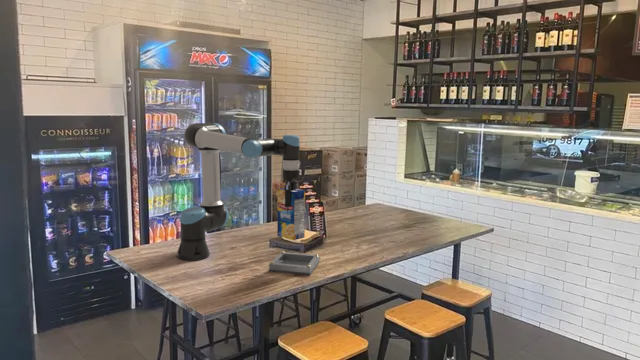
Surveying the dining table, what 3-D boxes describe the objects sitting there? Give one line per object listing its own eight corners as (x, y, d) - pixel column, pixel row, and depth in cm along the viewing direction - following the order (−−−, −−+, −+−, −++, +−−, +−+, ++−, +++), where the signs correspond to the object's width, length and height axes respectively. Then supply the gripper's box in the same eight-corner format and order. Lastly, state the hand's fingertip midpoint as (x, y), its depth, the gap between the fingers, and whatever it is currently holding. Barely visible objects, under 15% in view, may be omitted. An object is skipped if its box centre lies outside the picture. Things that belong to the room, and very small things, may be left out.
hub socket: (269, 271, 220) (269, 262, 220) (281, 258, 239) (281, 250, 238) (310, 275, 216) (310, 266, 216) (319, 262, 235) (319, 254, 234)
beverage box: (294, 240, 219) (294, 191, 216) (277, 235, 226) (277, 189, 223) (304, 237, 224) (305, 190, 221) (287, 233, 231) (288, 187, 228)
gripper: (294, 171, 212) (293, 224, 215) (303, 167, 228) (303, 216, 231) (277, 171, 214) (277, 223, 217) (288, 166, 230) (288, 215, 233)
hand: (291, 219), depth 224 cm, fingers open, 4 cm apart
